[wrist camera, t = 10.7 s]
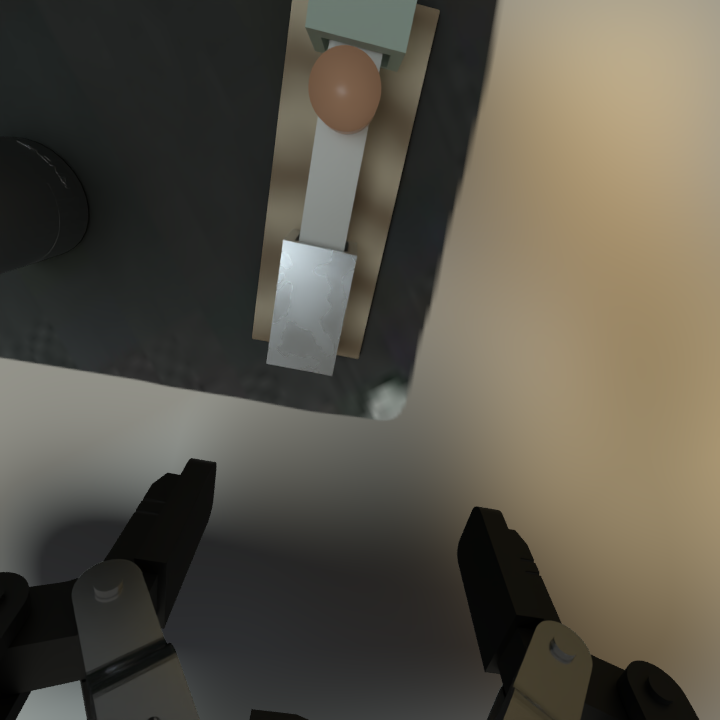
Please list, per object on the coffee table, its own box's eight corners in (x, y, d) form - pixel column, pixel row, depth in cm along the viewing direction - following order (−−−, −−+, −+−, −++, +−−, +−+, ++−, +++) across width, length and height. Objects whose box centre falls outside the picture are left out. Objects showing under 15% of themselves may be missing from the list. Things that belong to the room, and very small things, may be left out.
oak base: (358, 354, 42) (358, 358, 41) (254, 334, 41) (251, 338, 40) (437, 14, 31) (439, 10, 30) (297, -24, 30) (295, -29, 29)
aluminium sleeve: (335, 349, 41) (331, 375, 36) (277, 338, 40) (266, 363, 35) (357, 242, 37) (357, 255, 32) (293, 228, 36) (283, 239, 31)
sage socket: (397, 72, 32) (405, 53, 26) (315, 51, 31) (305, 26, 25) (410, 9, 30) (422, -26, 24) (324, -14, 30) (315, -56, 24)
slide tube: (344, 266, 37) (340, 295, 29) (296, 256, 36) (280, 282, 29) (393, 20, 30) (405, -27, 22) (335, 4, 29) (326, -49, 22)
